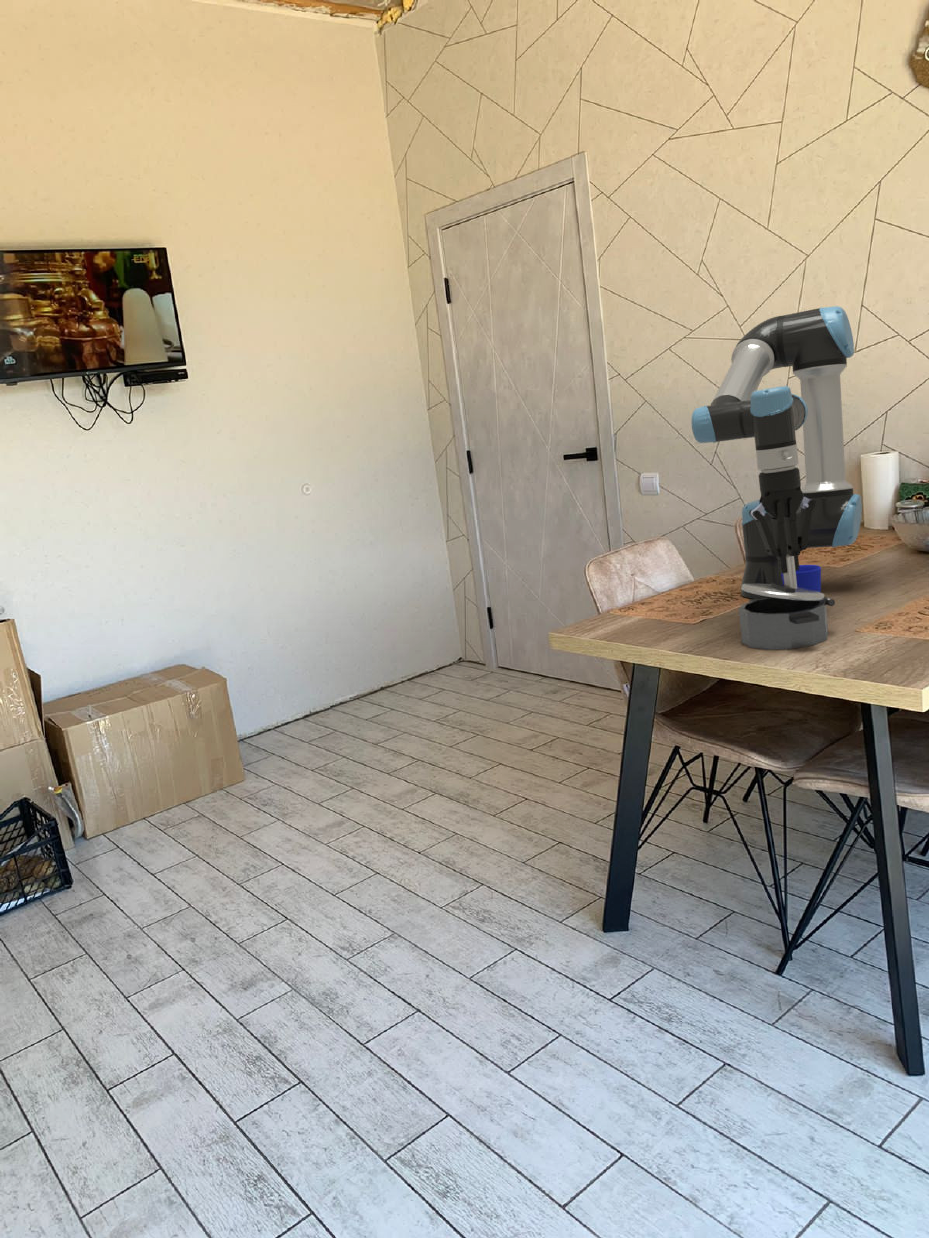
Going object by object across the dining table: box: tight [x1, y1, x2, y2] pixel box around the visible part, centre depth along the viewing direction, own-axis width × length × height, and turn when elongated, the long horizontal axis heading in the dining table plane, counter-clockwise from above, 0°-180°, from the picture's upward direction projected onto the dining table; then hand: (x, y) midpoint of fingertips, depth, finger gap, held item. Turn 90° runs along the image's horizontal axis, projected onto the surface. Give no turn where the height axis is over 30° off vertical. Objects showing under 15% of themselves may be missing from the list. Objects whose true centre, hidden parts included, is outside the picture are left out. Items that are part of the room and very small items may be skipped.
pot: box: [738, 596, 836, 651], centre depth 186 cm, size 22×18×7 cm
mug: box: [781, 564, 822, 593], centre depth 205 cm, size 8×12×10 cm
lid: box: [740, 583, 825, 601], centre depth 185 cm, size 16×16×2 cm
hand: (791, 587), depth 185 cm, fingers closed
